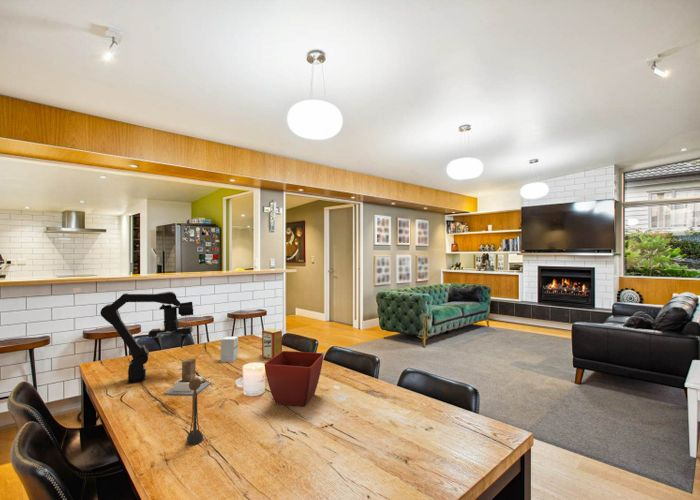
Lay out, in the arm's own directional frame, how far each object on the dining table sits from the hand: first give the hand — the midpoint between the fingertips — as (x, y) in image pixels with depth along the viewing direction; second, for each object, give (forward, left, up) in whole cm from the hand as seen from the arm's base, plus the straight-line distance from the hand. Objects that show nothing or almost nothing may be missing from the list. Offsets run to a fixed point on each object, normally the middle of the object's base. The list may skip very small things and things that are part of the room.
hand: (171, 348), depth 172 cm
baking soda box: (+50, +12, -13) cm, 53 cm away
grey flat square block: (+9, -22, -13) cm, 27 cm away
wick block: (+9, -22, -12) cm, 27 cm away
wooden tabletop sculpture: (+15, -70, -13) cm, 73 cm away
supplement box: (+27, +16, -13) cm, 34 cm away
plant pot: (+51, -50, -13) cm, 73 cm away
